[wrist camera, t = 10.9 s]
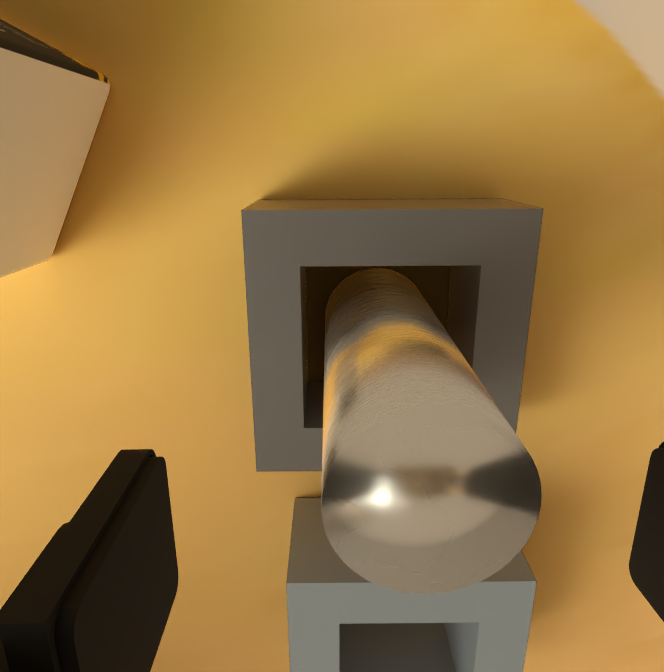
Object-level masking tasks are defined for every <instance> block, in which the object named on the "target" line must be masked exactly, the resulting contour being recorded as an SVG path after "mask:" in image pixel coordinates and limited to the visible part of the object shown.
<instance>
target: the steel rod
mask: <svg viewBox="0 0 664 672" xmlns="http://www.w3.org/2000/svg"><path fill="white" fill-rule="evenodd" d="M540 507H541V484H540V479H539V475H538V471H537V468H536V466H535V464H534V461H533V459H532V458H531V456H530V454H529V453H528V451H527V450H526V448H525V447H524V445H523V444H522V442H521V441H520V439H519V438H518V436H517V435H516V433H515V432H514V430H513V429H512V427H511V426H510V424H509V423H508V421H507V420H506V418H505V417H504V416H503V414H502V413H501V411H500V410H499V408H498V407H497V405H496V404H495V402H494V401H493V399H492V398H491V396H490V395H489V393H488V392H487V390H486V389H485V387H484V386H483V384H482V383H481V382H480V380H479V379H478V377H477V376H476V374H475V373H474V371H473V370H472V368H471V367H470V365H469V364H468V362H467V361H466V359H465V358H464V356H463V355H462V353H461V352H460V350H459V349H458V347H457V346H456V345H455V343H454V342H453V340H452V339H451V337H450V336H449V334H448V333H447V331H446V330H445V328H444V327H443V325H442V324H441V322H440V321H439V319H438V318H437V316H436V315H435V313H434V312H433V311H432V309H431V308H430V306H429V305H428V303H427V302H426V300H425V299H424V297H423V296H422V294H421V293H420V291H419V290H418V288H417V287H416V286H415V285H414V283H413V282H412V281H410V280H409V279H408V278H407V277H405V276H404V275H402V274H400V273H398V272H396V271H393V270H390V269H385V268H368V269H363V270H360V271H357V272H355V273H353V274H351V275H350V276H348V277H346V278H345V279H344V280H343V281H342V282H340V283H339V285H338V286H337V287H336V288H335V289H334V291H333V292H332V294H331V296H330V298H329V300H328V303H327V307H326V314H325V354H324V400H323V447H322V493H321V512H322V521H323V525H324V529H325V533H326V535H327V537H328V540H329V542H330V544H331V546H332V547H333V549H334V550H335V552H336V554H337V555H338V556H339V557H340V558H341V560H342V561H343V562H344V563H345V564H346V565H347V566H348V567H349V568H351V569H352V570H353V571H354V572H356V573H357V574H358V575H360V576H361V577H363V578H365V579H366V580H368V581H370V582H372V583H374V584H377V585H379V586H382V587H384V588H387V589H391V590H395V591H399V592H405V593H412V594H435V593H443V592H450V591H454V590H458V589H462V588H465V587H468V586H470V585H473V584H476V583H478V582H480V581H482V580H484V579H486V578H488V577H490V576H491V575H493V574H494V573H496V572H497V571H499V570H501V569H502V568H503V567H504V566H505V565H507V564H508V563H509V562H510V561H511V560H512V559H513V558H514V557H515V556H516V555H517V554H518V553H519V552H520V551H521V549H522V548H523V547H524V545H525V544H526V542H527V541H528V539H529V537H530V536H531V534H532V532H533V530H534V528H535V525H536V522H537V520H538V516H539V512H540Z"/></svg>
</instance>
